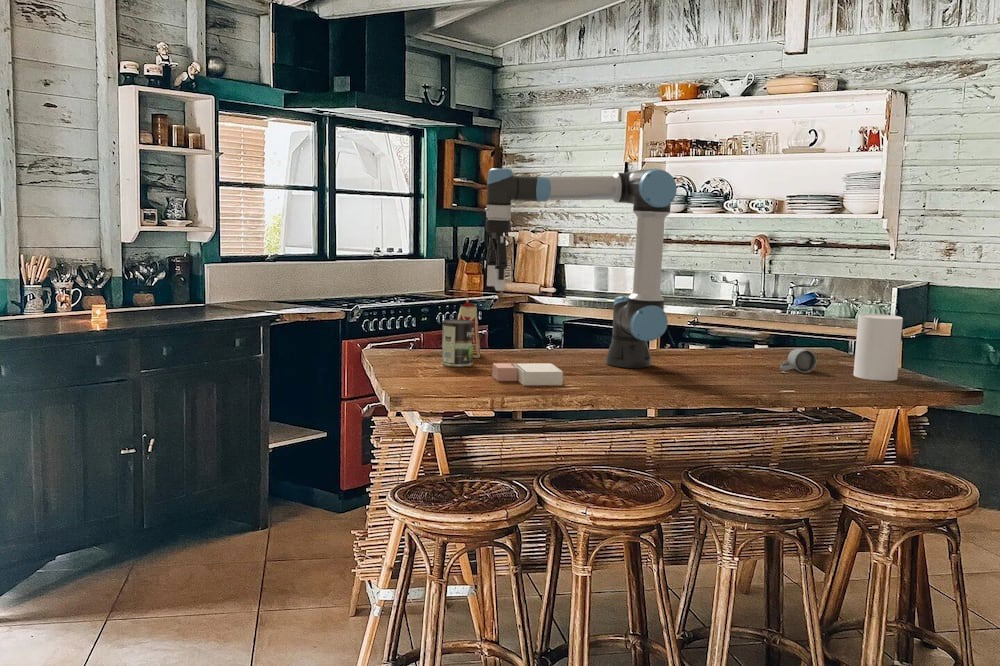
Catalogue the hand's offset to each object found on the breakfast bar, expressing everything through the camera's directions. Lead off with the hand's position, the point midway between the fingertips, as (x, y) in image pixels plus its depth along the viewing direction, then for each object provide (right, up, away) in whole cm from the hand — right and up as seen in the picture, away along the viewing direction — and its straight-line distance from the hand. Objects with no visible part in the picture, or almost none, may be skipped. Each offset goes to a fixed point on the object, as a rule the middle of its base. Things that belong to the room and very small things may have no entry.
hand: (495, 288), depth 305 cm
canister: (+125, -28, +18) cm, 129 cm away
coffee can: (-13, -24, +17) cm, 32 cm away
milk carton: (-10, -22, +34) cm, 42 cm away
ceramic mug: (+101, -27, +25) cm, 107 cm away
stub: (+3, -28, -7) cm, 29 cm away
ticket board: (+13, -28, -8) cm, 32 cm away
